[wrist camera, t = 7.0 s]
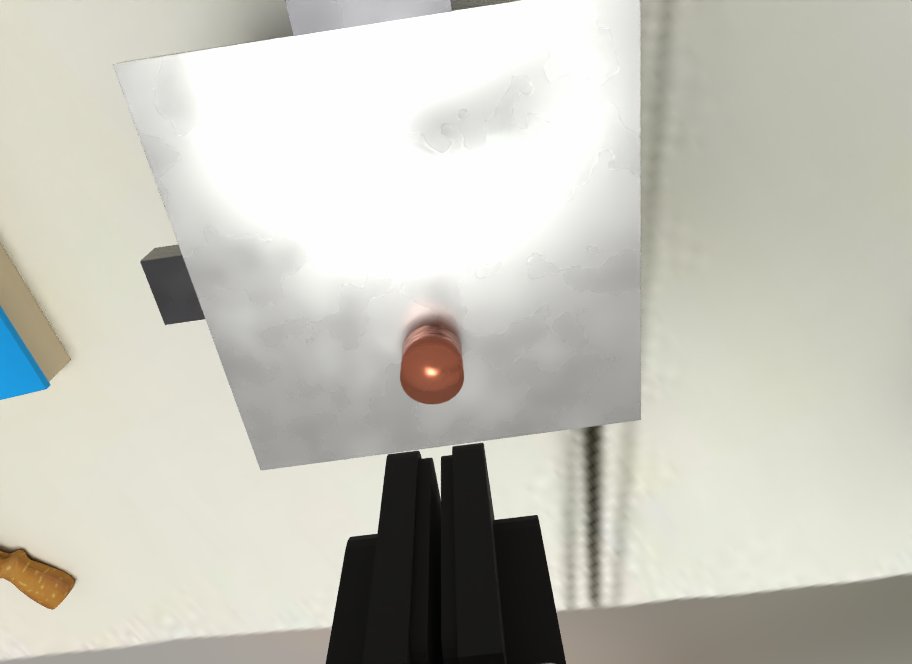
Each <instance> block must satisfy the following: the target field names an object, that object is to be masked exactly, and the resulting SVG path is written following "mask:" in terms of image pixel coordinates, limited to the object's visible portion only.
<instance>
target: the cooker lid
mask: <svg viewBox="0 0 912 664" xmlns="http://www.w3.org/2000/svg"><path fill="white" fill-rule="evenodd" d="M285 2H286V6H287V11H288V15H289V19H290V23H291V28H292V32H293V35H292V36H286V37H279V38H273V39H266V40H260V41H253V42H247V43H241V44H234V45H228V46H221V47H215V48H208V49H202V50H196V51H189V52H183V53H176V54H170V55H164V56H157V57H151V58H144V59H138V60H131V61H125V62H121V63H117V64H113V66H114V69H115V72H116V75H117V77H118V80H119V83H120V86H121V88H122V91H123V94H124V97H125V99H126V102H127V105H128V108H129V110H130V113H131V116H132V119H133V121H134V124H135V127H136V130H137V132H138V135H139V138H140V140H141V143H142V146H143V149H144V151H145V154H146V157H147V160H148V162H149V165H150V168H151V171H152V173H153V176H154V179H155V182H156V184H157V187H158V190H159V193H160V195H161V198H162V201H163V204H164V206H165V209H166V212H167V215H168V217H169V220H170V223H171V225H172V228H173V231H174V234H175V236H176V239H177V242H178V245H179V247H180V250H181V253H182V256H183V258H184V261H185V264H186V267H187V269H188V272H189V275H190V278H191V280H192V283H193V286H194V289H195V291H196V294H197V297H198V300H199V302H200V305H201V308H202V310H203V313H204V316H205V319H206V321H207V324H208V327H209V330H210V332H211V335H212V338H213V341H214V343H215V346H216V349H217V352H218V354H219V357H220V360H221V363H222V365H223V368H224V371H225V374H226V376H227V379H228V382H229V385H230V387H231V390H232V393H233V395H234V398H235V401H236V404H237V406H238V409H239V412H240V415H241V417H242V420H243V423H244V426H245V428H246V431H247V434H248V437H249V439H250V442H251V445H252V448H253V450H254V453H255V456H256V459H257V461H258V464H259V467H260V470H268V469H275V468H283V467H290V466H298V465H305V464H313V463H320V462H328V461H335V460H343V459H350V458H358V457H365V456H373V455H380V454H388V453H395V452H403V451H410V450H418V449H425V448H433V447H440V446H448V445H455V444H463V443H470V442H478V441H485V440H493V439H500V438H508V437H515V436H523V435H530V434H538V433H545V432H553V431H560V430H568V429H575V428H583V427H590V426H598V425H606V424H613V423H621V422H628V421H636V420H641V186H640V0H517V1H510V2H504V3H498V4H491V5H485V6H478V7H472V8H465V9H459V10H453V11H452V8H451V0H285Z"/></svg>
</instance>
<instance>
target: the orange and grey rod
mask: <svg viewBox="0 0 912 664" xmlns="http://www.w3.org/2000/svg"><path fill="white" fill-rule="evenodd" d="M0 578H4V579H6V580H8V581H10V582H12V583H13V584H14V585H15V586H16V587H17V588H18V589H19V590H20V591H22V592H23V593H24V594H25V595H27V596H28V597H29V598H31V599H32V600H34V601H36V602H37V603H39V604H41V605H42V606H44V607H46V608H49V609H55V608H56V607H57V606H58V605H59V604H60V603H61V602H62V601H63V600H64V599H65V598H66V596H67V595H68V594H69V593H70V591H71V590H72V588H73V586H74V584H75V580H74V579H73V578H72V577H71V576H70V575H69V574H67V573H65V572H64V571H61V570H59V569H56V568H54V567H51V566H48V565H45V564H43V563H40V562H36V561H32V560H31V559H29V558H28V557H27V555H26V553H25V552H24V551H23V550H16V551H15V552H13V553H5V552H2V551H0Z"/></svg>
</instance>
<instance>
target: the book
mask: <svg viewBox="0 0 912 664" xmlns="http://www.w3.org/2000/svg"><path fill="white" fill-rule="evenodd" d="M70 360H71V359H70V357H69V356H68V354H67V352H66V351H65V349H64V347H63V346H62V344H61V342H60V341H59V339H58V337H57V336H56V334H55V332H54V331H53V329H52V327H51V326H50V324H49V322H48V321H47V319H46V317H45V316H44V314H43V312H42V311H41V309H40V307H39V306H38V304H37V302H36V301H35V299H34V297H33V296H32V294H31V293H30V291H29V289H28V288H27V286H26V284H25V283H24V281H23V279H22V278H21V276H20V274H19V273H18V271H17V269H16V268H15V266H14V264H13V263H12V261H11V259H10V258H9V256H8V254H7V253H6V251H5V249H4V248H3V246H2V244H1V243H0V400H2V399H6V398H11V397H15V396H19V395H23V394H28V393H32V392H36V391H40V390H45V389H47V388H48V387H49V386H50V383H49V381H50V380H51V379H52V378H53V377H54V376H55V375H56V374H57V373H58V372H59V371H60V370H61V369H62V368H63V367H64V366H65V365H66V364H67V363H68V362H69V361H70Z"/></svg>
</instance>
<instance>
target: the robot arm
mask: <svg viewBox="0 0 912 664" xmlns="http://www.w3.org/2000/svg"><path fill="white" fill-rule="evenodd" d="M326 664H566V661H565V656H564V650H563V645H562V640H561V635H560V629H559V624H558V619H557V613H556V608H555V603H554V598H553V592H552V587H551V582H550V576H549V571H548V566H547V561H546V555H545V550H544V545H543V540H542V534H541V529H540V524H539V519H538V516H537V515H533V516H525V517H516V518H508V519H499V520H494V513H493V506H492V499H491V492H490V485H489V478H488V471H487V464H486V457H485V450H484V444H483V443H478V444H470V445H461V446H453V448H452V455H449V456H442V457H441V499H440V494H439V489H438V483H437V478H436V473H435V468H434V463H433V459H432V458H425V459H422V458H421V454H420V452H419V451H413V452H404V453H396V454H388V456H387V459H386V467H385V476H384V484H383V493H382V501H381V510H380V518H379V526H378V534H372V535H363V536H355V537H350V538H349V540H348V542H347V546H346V550H345V556H344V562H343V567H342V573H341V579H340V585H339V590H338V596H337V602H336V608H335V613H334V619H333V625H332V631H331V636H330V642H329V648H328V654H327V660H326Z"/></svg>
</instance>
